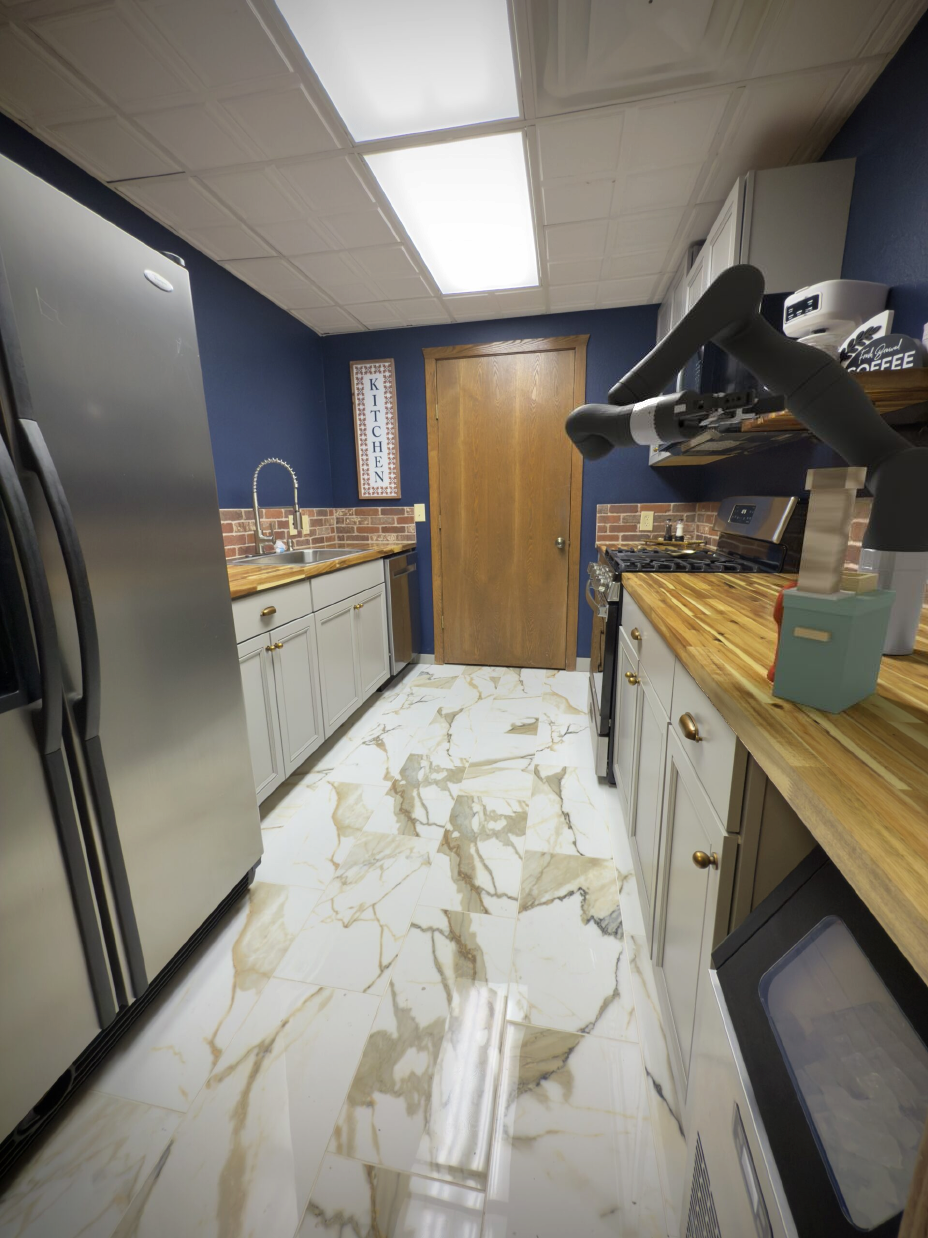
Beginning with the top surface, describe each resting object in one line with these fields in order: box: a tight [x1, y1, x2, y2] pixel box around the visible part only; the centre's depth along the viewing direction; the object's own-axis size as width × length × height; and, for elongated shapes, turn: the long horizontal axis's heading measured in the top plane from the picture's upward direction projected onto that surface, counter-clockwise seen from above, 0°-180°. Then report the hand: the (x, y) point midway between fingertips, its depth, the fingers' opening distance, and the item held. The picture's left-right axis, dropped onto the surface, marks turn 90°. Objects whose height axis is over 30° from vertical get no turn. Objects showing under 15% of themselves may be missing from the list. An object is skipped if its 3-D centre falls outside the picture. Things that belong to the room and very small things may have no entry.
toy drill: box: [766, 580, 798, 684], centre depth 75 cm, size 5×19×15 cm, turn 142°
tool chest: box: [771, 570, 896, 715], centre depth 65 cm, size 14×8×16 cm, turn 123°
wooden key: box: [797, 466, 867, 595], centre depth 61 cm, size 4×5×15 cm
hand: (770, 399), depth 68 cm, fingers open, 8 cm apart
